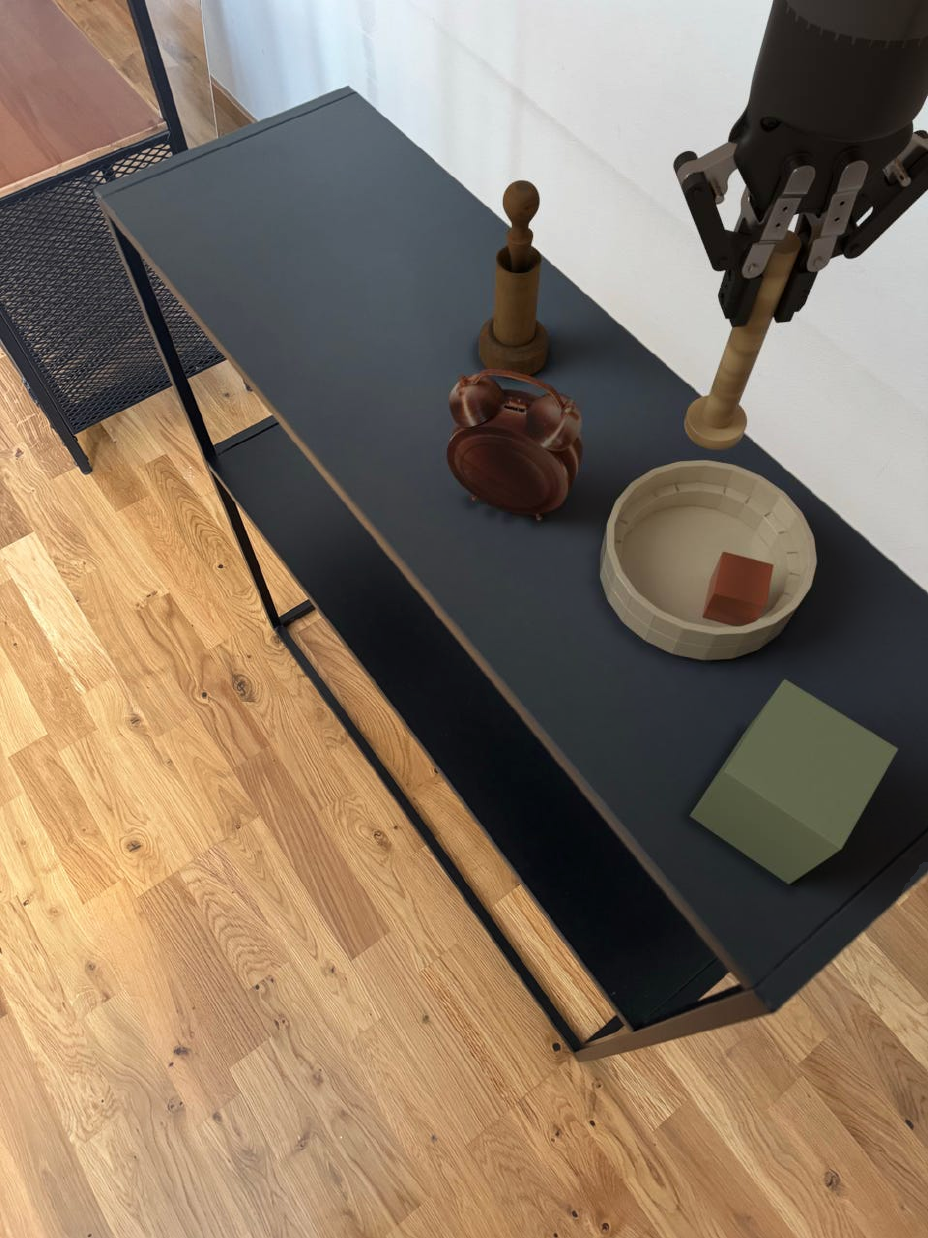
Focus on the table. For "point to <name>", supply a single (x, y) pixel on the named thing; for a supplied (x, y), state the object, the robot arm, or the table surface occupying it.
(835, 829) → the stand
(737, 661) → the table surface
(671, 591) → the bowl
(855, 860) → the table surface
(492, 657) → the table surface
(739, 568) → the block
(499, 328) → the mortar and pestle
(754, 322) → the stick
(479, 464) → the alarm clock
